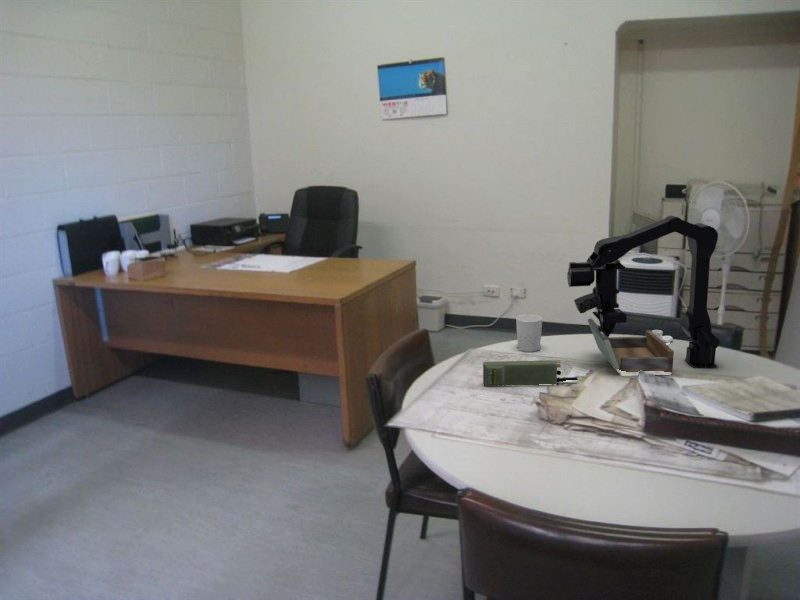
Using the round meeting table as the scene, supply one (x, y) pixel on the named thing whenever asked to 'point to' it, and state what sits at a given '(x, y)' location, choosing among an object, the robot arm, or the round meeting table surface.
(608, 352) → the panel
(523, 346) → the white cup
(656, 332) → the teacup and saucer
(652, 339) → the brown and grey drawer
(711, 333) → the robot arm
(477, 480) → the round meeting table surface
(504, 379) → the handheld radio
